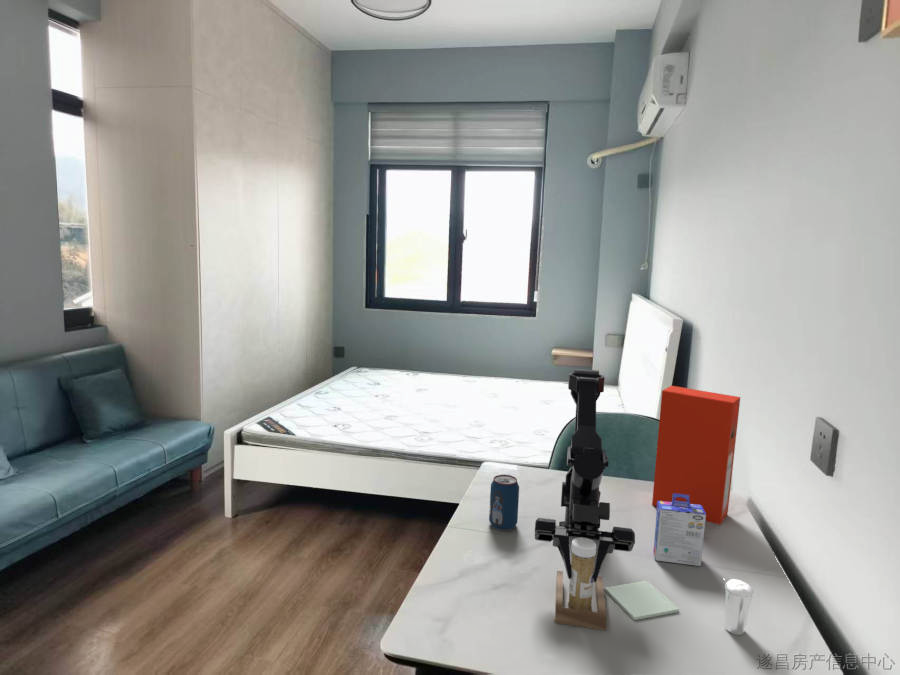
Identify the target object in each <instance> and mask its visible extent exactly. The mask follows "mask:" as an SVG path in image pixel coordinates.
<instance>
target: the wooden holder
mask: <svg viewBox="0 0 900 675" xmlns="http://www.w3.org/2000/svg"><path fill="white" fill-rule="evenodd" d="M555 581H556V582H555V584H556V585H555V604H554V605H555V607H554V608H555V609H554V610H555V612H554V624H562V625H565V626H566V625H568V626H575V627H580V628H581V627H582V628H589V629H595V630H600V631H606V628H607V619H608V618H607V617H608V616H607V611H606V610H607V608H606V602H605V601H606V600H605V592H604V591H605V590H604V589H605V588H604V581H603V576H599V575H598V577H597V580H596V582H595V583H594V584H595V585H594V586H595V587H594V588H595V589H594V590H595V600H596V611H592V610H591V611H584V610H577V609H571V608H569V607H564V606H563V602H564V601H563V598H564V597H563V594H564V590H563V588H564V586H563V585H564V571H561V570H556V580H555Z"/></svg>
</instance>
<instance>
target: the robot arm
mask: <svg viewBox="0 0 900 675" xmlns="http://www.w3.org/2000/svg"><path fill="white" fill-rule="evenodd" d="M567 382H568V383H567V387H568V388H567V390H570V396H571V398H572V400H573V402H574V404H575V420H574V433H573V434H572V436H571V443H570V446H569V445H568V446H567V452H566V453H567V455H566V465H567V466H568V467H570V468H569V470H568V471H567V473H565V479H564V480H565V481H562V482H561V484H562V485H561V494H560V496H561V498H560V507H565V514H564V520H562V521H559V523H558V525H557V524H556V523H557V520H556V519H553V518H543V517H538V518H537V519H535V524H534V525H535V526H534V540H536V541H540V542H547V543H548V542H549V543H551V542H552V547H554V548H555V547H557V548H558V551H559V553H560V556H561V558H562V561H563V564H564V568H565V572H566V575H567V579H568V580H570V579H571V552H570V551H571V549H570V539H575V538H579V537H583V538H588V539H591V540H593V541H594V542H598V546H597V547H596V554H595V560H594V578H593V583H596V580H597V577H598V576H599V573H600V570H601V566H602V565H603V563H604V560H605V558H606V556H607V554H613V552H614V551H621V552H632V550H633V549H634V546H635V544H636V533H635V531H634V530H633V529H632V528H629V527H621V526H613V527H612V530H611V531H603V530H602V531H601V530H599V529H600V528H601V520H603V521H610V519H611V518H610V517H611V516H610V514H611V512H610V511H611V503H609V502H603V501H601V502H600V500H601V494H602V493H601V491H600V485H601V483H602V478H603V473H604V471H605V470H606V468H608V467H609V457H608V455H607V453H606V450H605V449H602V448H603V447H602V445H603V444H602V442H603V441H602V440H603V439H602V437H601V436H600V435H599V433H598V432H597V401H598V399H599V397H600V396H601V393H604V391H605V375H603V374H600V370H599V369H598V370H597V369H596V370H595V369H581V368H574V369H573V372H568V381H567Z"/></svg>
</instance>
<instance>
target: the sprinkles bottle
mask: <svg viewBox="0 0 900 675" xmlns="http://www.w3.org/2000/svg"><path fill="white" fill-rule="evenodd" d="M570 546H571V547H570V551H571V558H570V562H571V579H569V583H568V584H569V585H568V586H569V587H568V593H569V594H568V602H567V608H571V609H577V610H584V611H591V612H592V610H593V609H592V607H593V606H592V598H593V591H594V568H595V561H596V554H597V544H596V541H593V540H591V539H588V538H583V537H579V538H572V541H571V545H570Z"/></svg>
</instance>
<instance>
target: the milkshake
mask: <svg viewBox="0 0 900 675" xmlns="http://www.w3.org/2000/svg"><path fill="white" fill-rule="evenodd" d="M723 583H724V620H723V621H724V624H723V625H724V628H725V630H726V631H727V632H729V633H730V634H733V635H736V636H737V635H738V636H739V635H741V636H742V635H743V634H744V633H745V630H746V626H747V621H748V616H749V612H750V606H751V602H752V599H753V594H754V591H753V588H752V587H751V585H750V584H748V583H747V582H744V581H742V580H741V579H737V578H732V579H729V580H727V581H726V580H725V578H723Z"/></svg>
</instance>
